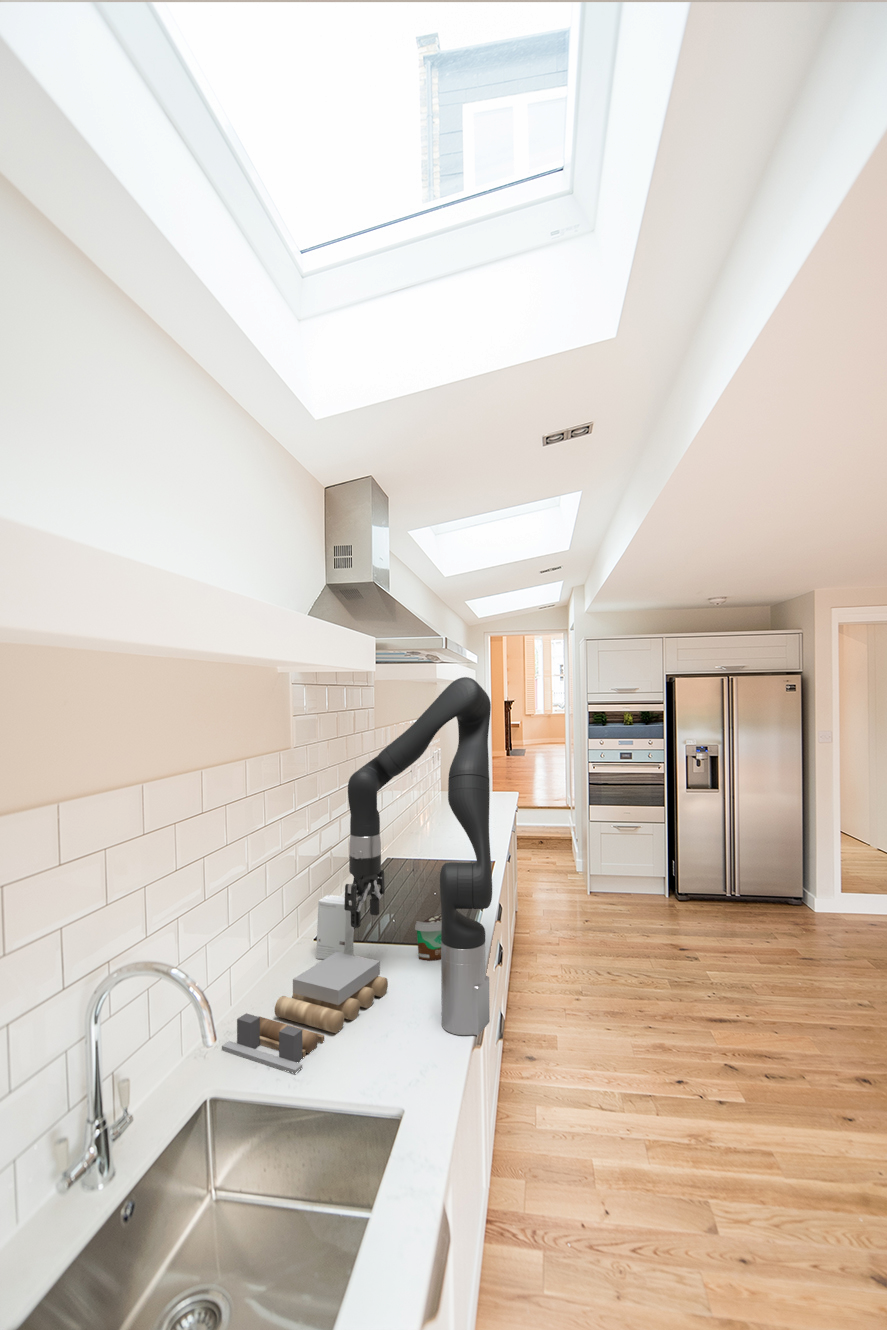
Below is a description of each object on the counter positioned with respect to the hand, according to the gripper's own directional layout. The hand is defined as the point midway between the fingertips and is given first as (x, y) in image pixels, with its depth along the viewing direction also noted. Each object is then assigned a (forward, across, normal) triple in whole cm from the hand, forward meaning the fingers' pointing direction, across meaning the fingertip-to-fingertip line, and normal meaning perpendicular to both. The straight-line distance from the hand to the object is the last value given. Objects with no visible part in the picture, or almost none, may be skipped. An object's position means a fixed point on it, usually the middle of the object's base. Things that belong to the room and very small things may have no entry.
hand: (365, 920), depth 159 cm
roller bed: (+14, +18, 0) cm, 23 cm away
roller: (+14, +29, -1) cm, 32 cm away
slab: (+10, +12, 0) cm, 15 cm away
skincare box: (+15, -9, -14) cm, 22 cm away
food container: (+15, -20, +10) cm, 27 cm away
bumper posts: (+14, +34, -1) cm, 37 cm away
